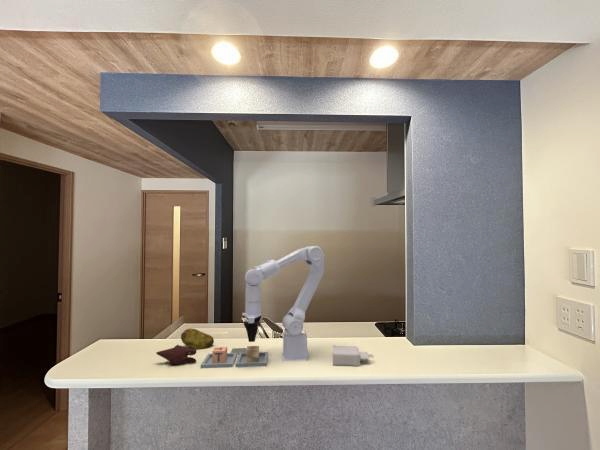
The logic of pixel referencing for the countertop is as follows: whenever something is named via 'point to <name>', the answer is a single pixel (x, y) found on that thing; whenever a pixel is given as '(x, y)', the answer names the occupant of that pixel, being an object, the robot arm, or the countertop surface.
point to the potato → (196, 339)
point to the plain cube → (252, 354)
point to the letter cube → (219, 355)
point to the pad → (238, 350)
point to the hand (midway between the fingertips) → (252, 338)
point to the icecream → (178, 355)
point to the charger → (348, 355)
